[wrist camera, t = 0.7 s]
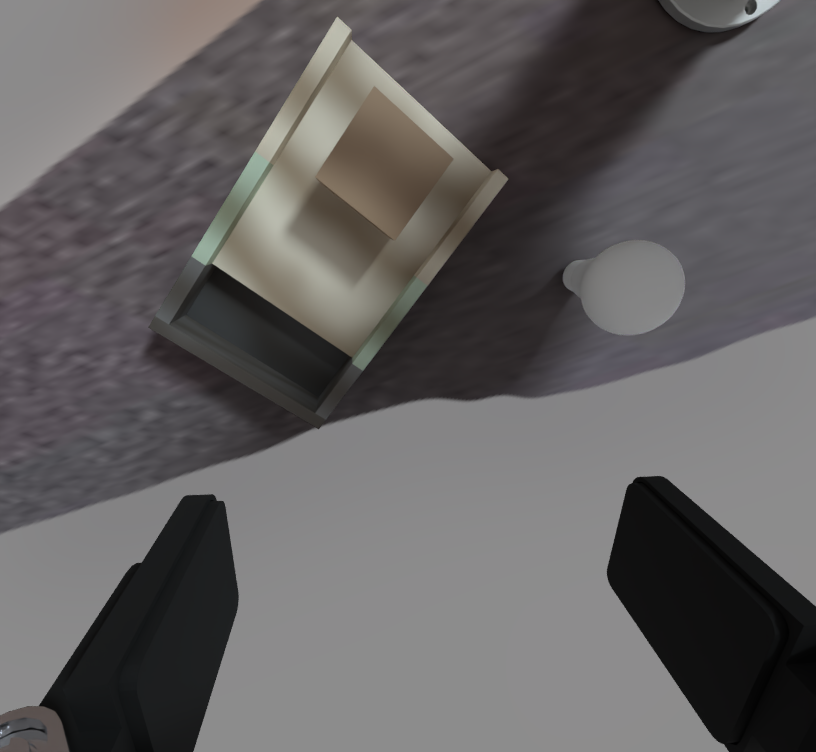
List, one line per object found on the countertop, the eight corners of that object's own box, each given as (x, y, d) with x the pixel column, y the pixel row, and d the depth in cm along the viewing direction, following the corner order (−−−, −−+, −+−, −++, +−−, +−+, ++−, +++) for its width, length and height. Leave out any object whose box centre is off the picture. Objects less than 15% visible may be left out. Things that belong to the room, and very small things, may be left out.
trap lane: (339, 40, 28) (337, 16, 25) (493, 183, 32) (508, 178, 29) (168, 317, 33) (148, 327, 30) (322, 410, 37) (318, 429, 34)
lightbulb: (527, 257, 35) (599, 272, 24) (596, 222, 34) (699, 222, 24) (550, 323, 37) (626, 362, 26) (615, 290, 36) (718, 318, 26)
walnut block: (371, 103, 28) (374, 85, 24) (441, 166, 30) (453, 158, 26) (320, 182, 29) (314, 176, 25) (390, 238, 31) (394, 240, 27)
